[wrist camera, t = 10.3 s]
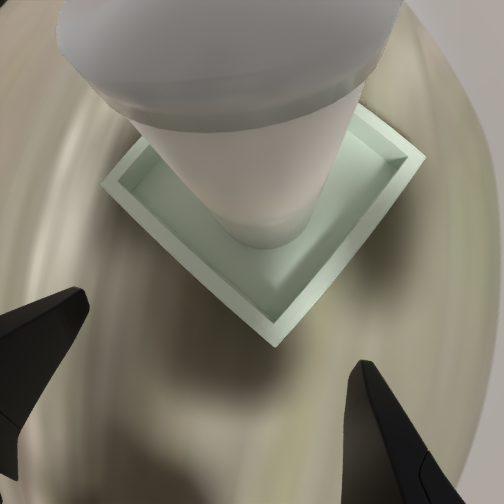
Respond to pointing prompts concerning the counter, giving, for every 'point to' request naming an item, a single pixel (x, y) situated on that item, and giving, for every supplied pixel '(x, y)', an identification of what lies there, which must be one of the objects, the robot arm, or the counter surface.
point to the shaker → (235, 93)
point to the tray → (282, 258)
